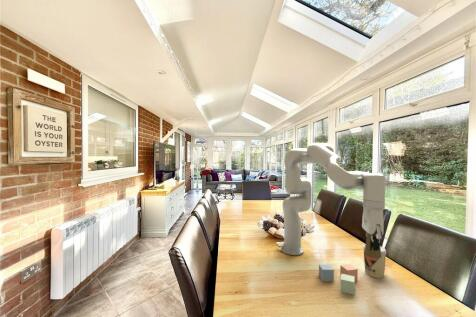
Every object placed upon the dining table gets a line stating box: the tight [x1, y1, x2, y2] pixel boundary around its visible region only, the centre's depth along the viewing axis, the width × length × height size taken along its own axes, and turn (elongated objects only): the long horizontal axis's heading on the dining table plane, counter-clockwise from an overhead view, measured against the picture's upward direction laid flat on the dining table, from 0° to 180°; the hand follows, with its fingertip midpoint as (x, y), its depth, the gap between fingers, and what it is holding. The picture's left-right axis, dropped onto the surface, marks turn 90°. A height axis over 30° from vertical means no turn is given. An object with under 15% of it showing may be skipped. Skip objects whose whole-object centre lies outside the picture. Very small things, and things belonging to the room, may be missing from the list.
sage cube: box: [340, 274, 355, 295], centre depth 93 cm, size 5×5×5 cm
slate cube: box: [318, 263, 335, 282], centre depth 102 cm, size 5×5×5 cm
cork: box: [363, 231, 381, 258], centre depth 91 cm, size 6×6×11 cm
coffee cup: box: [362, 244, 387, 278], centre depth 106 cm, size 9×9×12 cm
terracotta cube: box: [339, 263, 359, 282], centre depth 102 cm, size 5×5×5 cm
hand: (372, 248), depth 91 cm, fingers closed on cork, 3 cm apart
